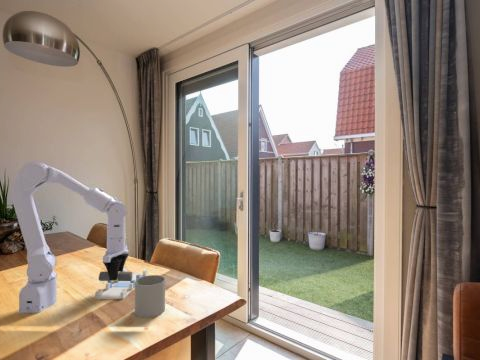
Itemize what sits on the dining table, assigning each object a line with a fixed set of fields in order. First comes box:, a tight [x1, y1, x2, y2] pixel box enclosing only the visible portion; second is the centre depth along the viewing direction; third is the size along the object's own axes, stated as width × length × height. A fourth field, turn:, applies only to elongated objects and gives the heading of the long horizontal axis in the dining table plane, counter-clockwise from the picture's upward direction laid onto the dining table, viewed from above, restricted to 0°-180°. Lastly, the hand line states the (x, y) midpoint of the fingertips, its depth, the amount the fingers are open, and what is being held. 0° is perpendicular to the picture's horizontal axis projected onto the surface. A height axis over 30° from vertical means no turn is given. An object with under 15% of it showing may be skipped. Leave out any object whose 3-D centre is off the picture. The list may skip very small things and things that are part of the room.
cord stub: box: [98, 271, 133, 282], centre depth 96 cm, size 10×3×3 cm, turn 90°
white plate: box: [94, 268, 149, 300], centre depth 103 cm, size 24×9×4 cm, turn 0°
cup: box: [134, 274, 166, 319], centre depth 83 cm, size 8×8×10 cm
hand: (115, 277), depth 96 cm, fingers closed on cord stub, 3 cm apart
